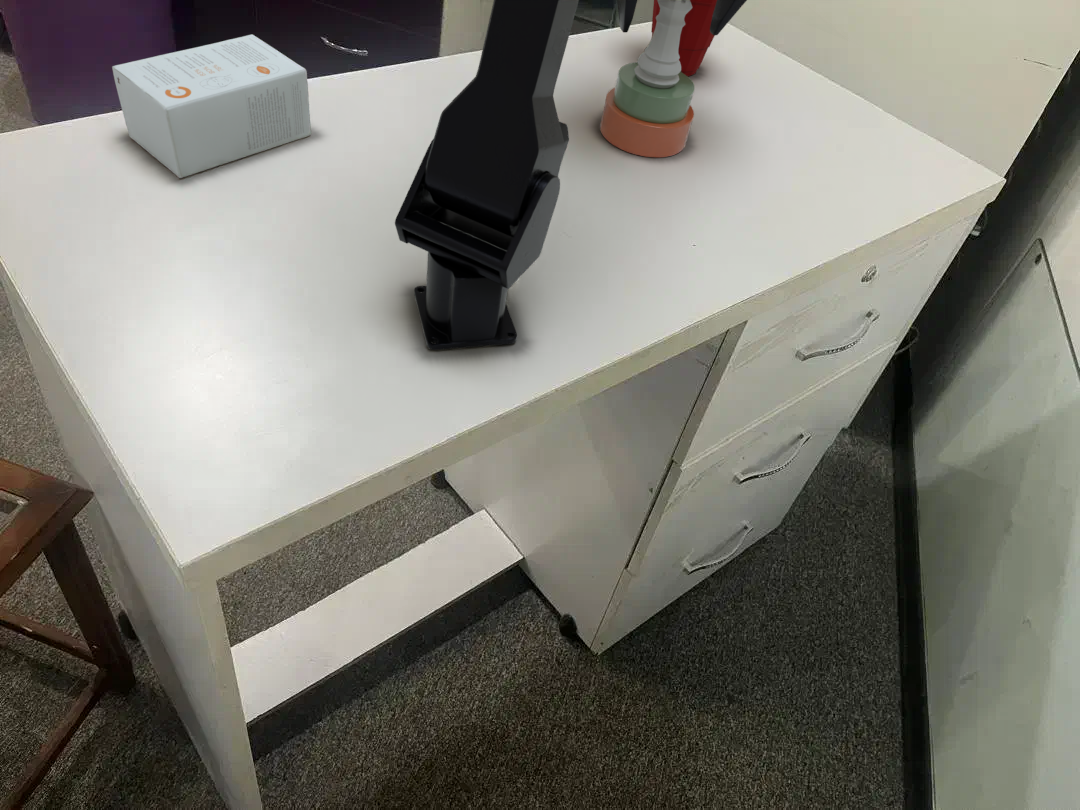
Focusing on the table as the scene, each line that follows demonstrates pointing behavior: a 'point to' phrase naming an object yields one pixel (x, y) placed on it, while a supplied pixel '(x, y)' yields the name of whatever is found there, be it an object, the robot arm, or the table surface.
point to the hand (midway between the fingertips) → (669, 32)
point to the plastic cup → (692, 34)
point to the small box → (213, 103)
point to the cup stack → (647, 115)
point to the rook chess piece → (664, 46)
